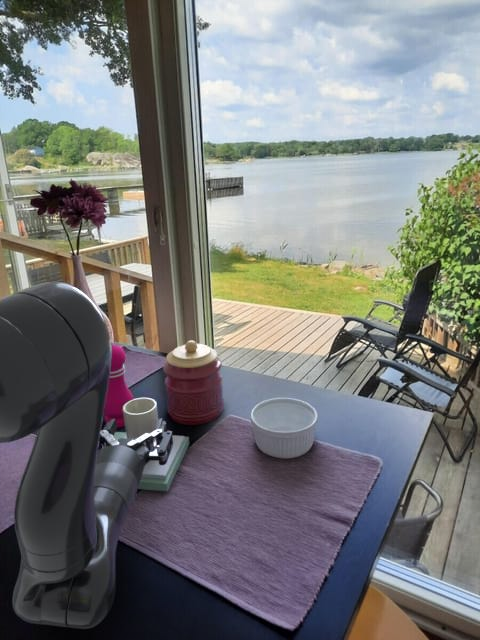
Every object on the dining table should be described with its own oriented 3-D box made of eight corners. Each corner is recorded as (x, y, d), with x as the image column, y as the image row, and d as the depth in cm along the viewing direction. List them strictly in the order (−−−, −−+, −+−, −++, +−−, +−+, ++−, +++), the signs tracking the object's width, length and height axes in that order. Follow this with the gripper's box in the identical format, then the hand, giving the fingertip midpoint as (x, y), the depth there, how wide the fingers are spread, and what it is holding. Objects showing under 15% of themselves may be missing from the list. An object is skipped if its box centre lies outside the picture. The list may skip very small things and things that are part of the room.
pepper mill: (122, 410, 104) (111, 330, 97) (143, 419, 100) (133, 337, 93) (97, 424, 98) (83, 341, 92) (118, 434, 94) (105, 348, 88)
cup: (124, 461, 81) (117, 413, 78) (136, 441, 86) (130, 396, 83) (155, 463, 80) (149, 415, 76) (166, 444, 85) (161, 398, 82)
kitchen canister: (187, 393, 110) (181, 327, 104) (233, 403, 105) (230, 334, 99) (156, 420, 99) (148, 347, 93) (206, 432, 94) (201, 356, 88)
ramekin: (269, 419, 98) (269, 391, 95) (326, 435, 91) (327, 405, 89) (239, 452, 87) (238, 421, 85) (302, 472, 81) (302, 440, 78)
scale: (82, 486, 79) (79, 472, 78) (115, 440, 92) (113, 428, 91) (167, 494, 77) (166, 479, 76) (189, 445, 90) (188, 433, 89)
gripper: (157, 462, 62) (175, 403, 78) (58, 463, 63) (95, 405, 78) (162, 504, 65) (178, 440, 80) (66, 506, 65) (101, 441, 81)
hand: (137, 423), depth 79 cm, fingers open, 8 cm apart
